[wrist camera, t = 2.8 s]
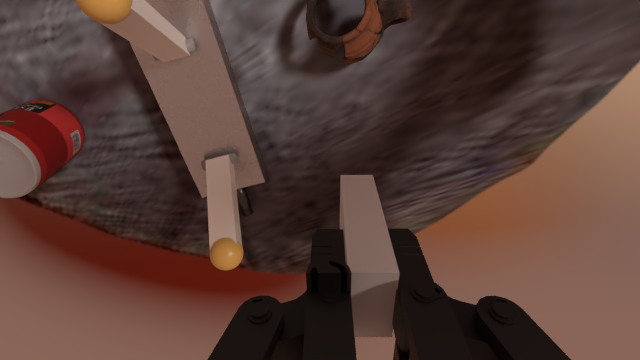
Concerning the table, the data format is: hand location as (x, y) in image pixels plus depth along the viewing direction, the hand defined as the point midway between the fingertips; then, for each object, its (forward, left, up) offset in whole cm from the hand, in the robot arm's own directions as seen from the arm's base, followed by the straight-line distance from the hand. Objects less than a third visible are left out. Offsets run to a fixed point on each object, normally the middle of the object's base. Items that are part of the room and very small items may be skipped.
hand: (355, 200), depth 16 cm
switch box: (+14, +3, -32) cm, 35 cm away
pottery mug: (-7, -4, -33) cm, 34 cm away
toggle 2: (+13, +8, -27) cm, 31 cm away
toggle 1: (+13, -6, -27) cm, 31 cm away
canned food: (+33, 0, -33) cm, 47 cm away
